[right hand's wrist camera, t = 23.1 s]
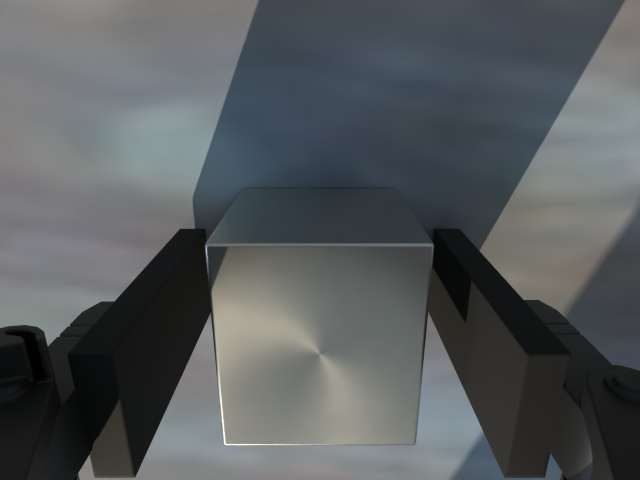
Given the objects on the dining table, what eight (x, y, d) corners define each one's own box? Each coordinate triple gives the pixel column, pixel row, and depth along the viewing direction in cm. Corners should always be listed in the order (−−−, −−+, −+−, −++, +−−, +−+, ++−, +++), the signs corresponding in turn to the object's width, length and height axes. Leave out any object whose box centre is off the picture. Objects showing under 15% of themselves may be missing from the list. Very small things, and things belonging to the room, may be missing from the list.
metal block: (388, 338, 15) (416, 446, 11) (250, 338, 15) (222, 446, 11) (397, 187, 13) (435, 243, 9) (241, 187, 13) (203, 243, 9)
